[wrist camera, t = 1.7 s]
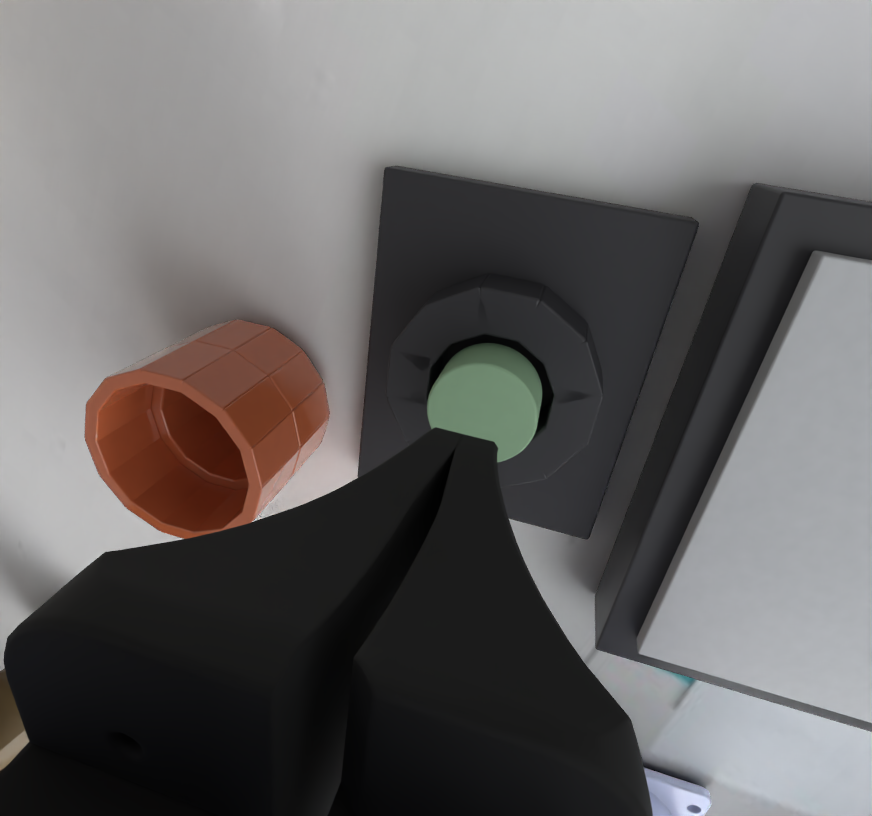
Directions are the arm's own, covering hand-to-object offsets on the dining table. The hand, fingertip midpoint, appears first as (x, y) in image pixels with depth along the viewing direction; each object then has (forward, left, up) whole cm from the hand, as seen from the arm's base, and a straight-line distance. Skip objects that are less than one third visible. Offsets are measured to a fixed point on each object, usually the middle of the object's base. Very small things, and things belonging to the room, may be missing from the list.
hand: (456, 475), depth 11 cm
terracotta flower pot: (-3, +8, -6) cm, 11 cm away
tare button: (0, 0, -4) cm, 4 cm away
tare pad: (0, 0, -6) cm, 6 cm away
